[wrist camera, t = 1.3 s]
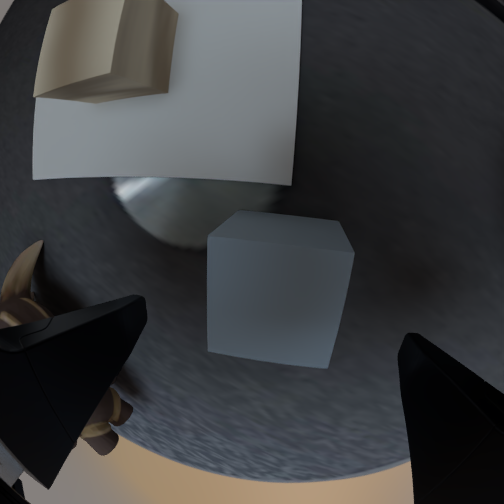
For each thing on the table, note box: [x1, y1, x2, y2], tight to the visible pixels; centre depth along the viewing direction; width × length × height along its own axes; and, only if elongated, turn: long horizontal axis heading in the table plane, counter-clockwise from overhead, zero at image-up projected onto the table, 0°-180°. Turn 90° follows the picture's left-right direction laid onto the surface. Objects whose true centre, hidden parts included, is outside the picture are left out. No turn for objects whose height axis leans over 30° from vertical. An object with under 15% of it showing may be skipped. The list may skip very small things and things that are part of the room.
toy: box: [0, 240, 133, 455], centre depth 16 cm, size 11×8×15 cm
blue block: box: [207, 210, 355, 369], centre depth 13 cm, size 5×5×5 cm
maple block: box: [33, 0, 179, 104], centre depth 10 cm, size 5×5×5 cm
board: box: [33, 0, 302, 186], centre depth 12 cm, size 18×14×1 cm
